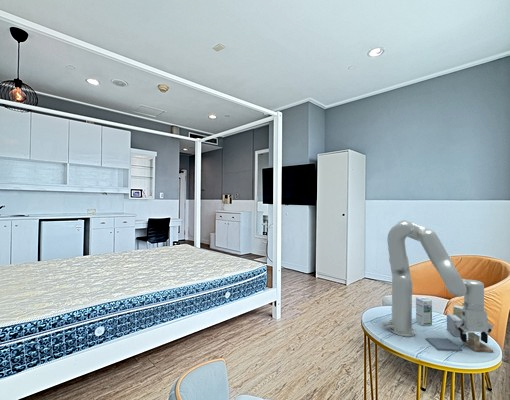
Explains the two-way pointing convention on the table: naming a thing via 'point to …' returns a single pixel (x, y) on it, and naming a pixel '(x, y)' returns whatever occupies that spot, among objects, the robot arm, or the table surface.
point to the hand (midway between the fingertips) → (473, 341)
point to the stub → (476, 343)
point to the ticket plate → (443, 344)
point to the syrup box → (424, 311)
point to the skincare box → (457, 311)
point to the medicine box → (453, 325)
